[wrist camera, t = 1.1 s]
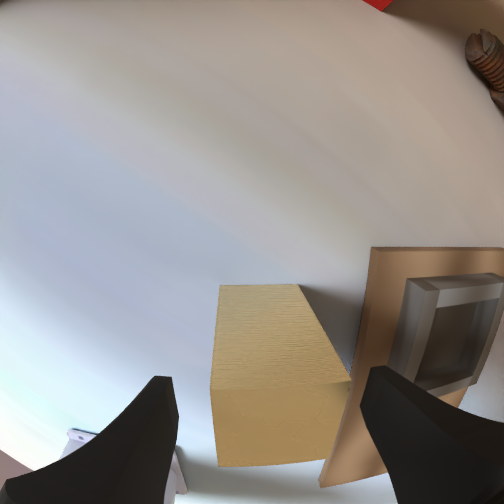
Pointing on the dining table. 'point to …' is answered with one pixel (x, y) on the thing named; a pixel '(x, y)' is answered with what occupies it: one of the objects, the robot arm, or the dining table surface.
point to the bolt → (488, 62)
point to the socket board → (418, 336)
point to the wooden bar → (273, 379)
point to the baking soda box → (379, 3)
